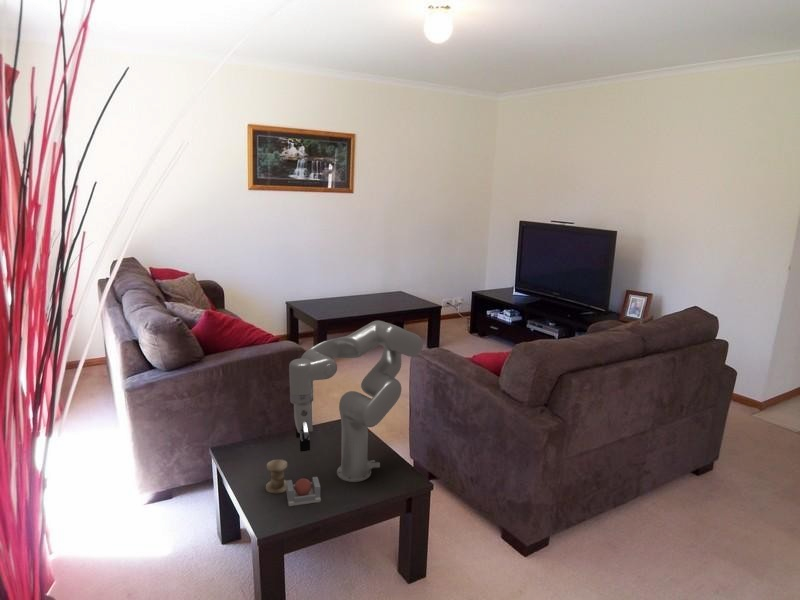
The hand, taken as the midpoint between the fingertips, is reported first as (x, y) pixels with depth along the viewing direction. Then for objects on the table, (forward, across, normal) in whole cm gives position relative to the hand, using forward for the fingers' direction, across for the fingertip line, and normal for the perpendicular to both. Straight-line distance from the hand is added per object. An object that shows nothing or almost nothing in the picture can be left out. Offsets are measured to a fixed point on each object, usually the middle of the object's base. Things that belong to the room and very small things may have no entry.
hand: (302, 443), depth 182 cm
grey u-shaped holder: (+19, -2, +1) cm, 19 cm away
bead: (+18, -2, +1) cm, 18 cm away
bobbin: (+19, +7, +8) cm, 22 cm away
